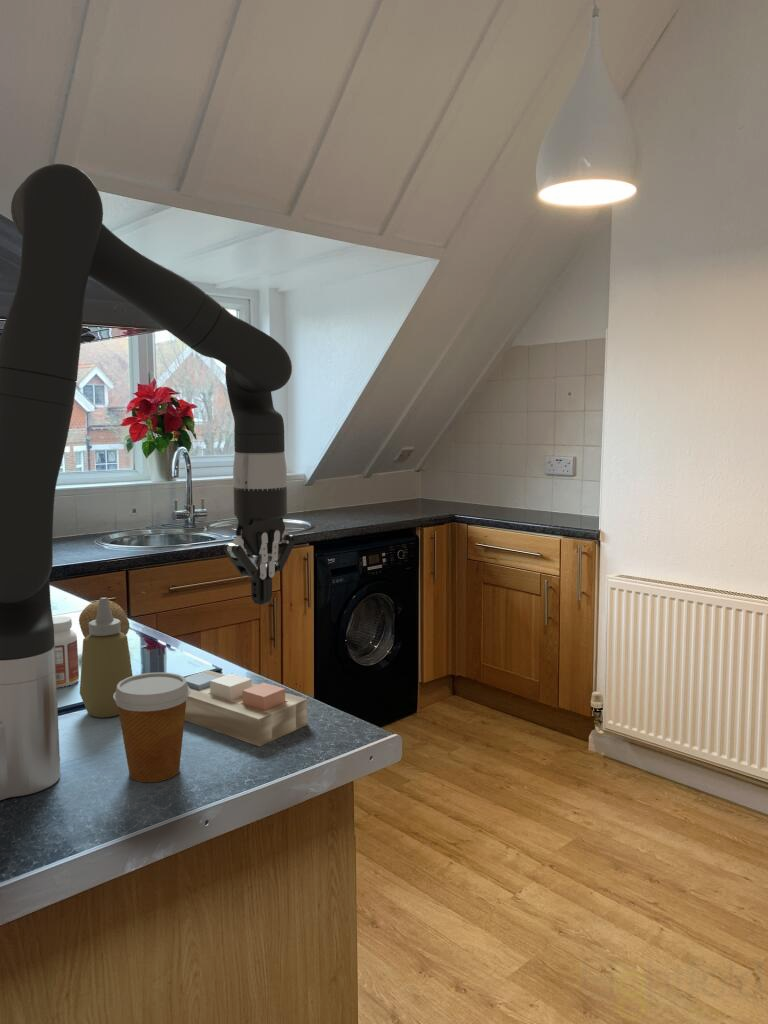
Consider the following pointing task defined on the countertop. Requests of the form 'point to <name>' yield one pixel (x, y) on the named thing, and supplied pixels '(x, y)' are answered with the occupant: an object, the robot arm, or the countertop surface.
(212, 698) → the key box
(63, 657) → the pill bottle
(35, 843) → the countertop surface
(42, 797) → the countertop surface
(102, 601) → the squeeze bottle
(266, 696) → the terracotta key
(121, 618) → the natural sponge
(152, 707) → the disposable coffee cup
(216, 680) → the white key
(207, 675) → the slate key
